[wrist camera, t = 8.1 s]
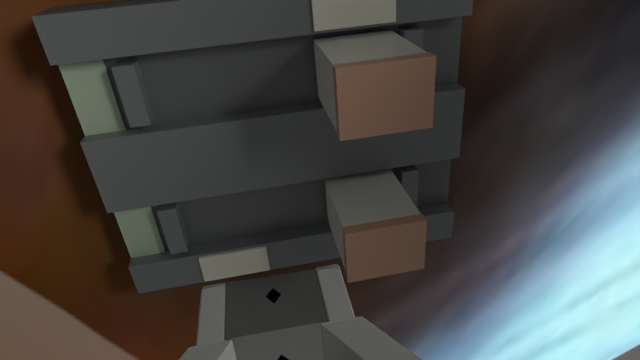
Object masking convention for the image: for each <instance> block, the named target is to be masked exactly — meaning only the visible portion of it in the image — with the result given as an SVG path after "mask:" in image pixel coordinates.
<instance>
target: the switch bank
mask: <svg viewBox="0 0 640 360" xmlns="http://www.w3.org/2000/svg"><path fill="white" fill-rule="evenodd" d="M472 10H473V0H120V1H110V2H101V3H91V4H82V5H73V6H63V7H54V8H50V9H48V10H45V11H43V12H41V13H38V14H36V15H34V16H31V17H32V20H33V22H34V25H35V27H36V30H37V32H38V35H39V38H40V40H41V43H42V45H43V48H44V51H45V53H46V56H47V58H48V61H49V63H50V66H52V65H58V66H59V69H60V71H61V74H62V76H63V79H64V82H65V84H66V87H67V90H68V92H69V95H70V98H71V100H72V103H73V106H74V108H75V111H76V114H77V116H78V119H79V122H80V124H81V127H82V129H83V132H84V135H85V136H84V138H83V139H82V141H81V142H80V144H81V146H82V149H83V151H84V154H85V157H86V159H87V162H88V164H89V167H90V170H91V172H92V175H93V177H94V180H95V182H96V185H97V188H98V190H99V193H100V195H101V198H102V201H103V203H104V206H105V208H106V211H107V213H112V212H114V214H115V217H116V220H117V222H118V225H119V228H120V230H121V233H122V235H123V238H124V241H125V243H126V246H127V249H128V251H129V254H130V257H131V260H130V263H129V266H128V268H129V270H130V273H131V276H132V278H133V281H134V283H135V286H136V289H137V291H138V294H140V293H146V292H151V291H157V290H162V289H168V288H174V287H179V286H185V285H190V284H196V283H201V282H207V281H213V280H218V279H224V278H229V277H235V276H241V275H246V274H252V273H257V272H263V271H268V270H274V269H280V268H285V267H291V266H296V265H302V264H307V263H313V262H319V261H324V260H330V259H335V258H341V257H340V254H339V252H338V249H337V246H336V243H335V240H334V237H333V234H332V231H331V228H330V225H329V222H328V215H327V203H326V191H325V180H324V179H327V178H334V177H340V176H346V175H353V174H359V173H365V172H372V171H378V170H384V169H391V170H392V172H393V173H394V175H395V176H396V178H397V179H398V181H399V182H400V184H401V185H402V187H403V188H404V190H405V191H406V193H407V194H408V196H409V197H410V199H411V200H412V201H413V203H414V204H415V206H416V207H417V209H418V210H419V212H420V213H421V214H423V215H424V217H425V218H426V220H427V229H426V242H430V241H436V240H441V239H447V238H452V235H453V224H454V212H455V211H454V210H453V208H452V207H451V206H450V205H449V203H448V195H449V183H450V170H451V159H454V158H459V156H460V145H461V134H462V123H463V111H464V100H465V88H464V87H462V86H461V85H459V84H458V83H457V81H458V69H459V56H460V43H461V31H462V18H463V16H469V15H472ZM387 30H392V31H394V32H395V33H397V34H398V35H400V36H402V37H403V38H405V39H407V40H408V41H410V42H411V43H413V44H415V45H416V46H418V47H420V48H421V49H423V50H425V51H426V52H431V53H433V54H435V55H436V73H435V92H434V111H433V128H426V129H419V130H413V131H406V132H399V133H392V134H386V135H379V136H372V137H366V138H359V139H352V140H345V141H340V140H339V138H338V137H337V131H336V130H335V128H334V126H333V124H332V122H331V120H330V118H329V116H328V115H327V113H326V111H325V109H324V107H323V105H322V103H321V101H320V100H319V98H318V88H317V76H316V65H315V53H314V41H313V39H321V38H329V37H338V36H346V35H354V34H362V33H371V32H379V31H387Z"/></svg>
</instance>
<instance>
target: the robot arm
mask: <svg viewBox="0 0 640 360" xmlns="http://www.w3.org/2000/svg"><path fill="white" fill-rule="evenodd" d="M179 360H421V359H420V358H419V357H417V356H416V355H414V354H413V353H412V352H410V351H409V350H408V349H406V348H405V347H403V346H402V345H401V344H399V343H398V342H397V341H395V340H394V339H393V338H391V337H390V336H388V335H387V334H386V333H384V332H383V331H382V330H380V329H379V328H378V327H376V326H375V325H373V324H372V323H371V322H369V321H368V320H367V319H365V318H364V317H362V316H360V317H355V315H354V312H353V308H352V305H351V302H350V299H349V296H348V292H347V289H346V286H345V283H344V280H343V276H342V273H341V270H340V267H339V265H338V264H333V265H327V266H322V267H316V268H313V269H307V270H302V271H296V272H290V273H284V274H278V275H273V276H266V277H259V278H252V279H245V280H238V281H231V282H227V283H220V284H213V285H206V286H203V288H202V290H201V298H200V308H199V319H198V329H197V340H196V346H193V347H189V348H188V349H187V350H186V351H185V352H184V354H183V355H182V356H181V357H180V359H179Z"/></svg>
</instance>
